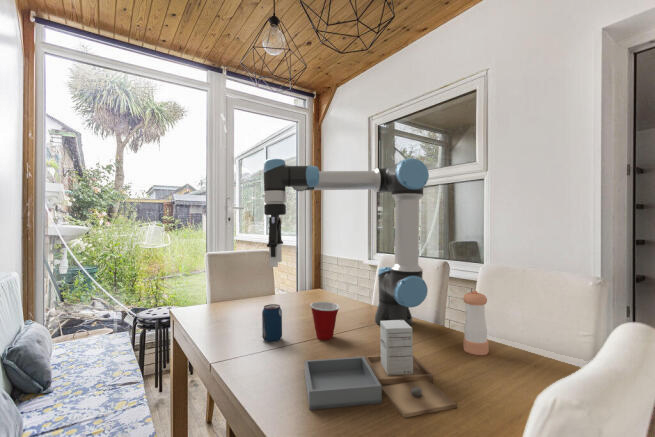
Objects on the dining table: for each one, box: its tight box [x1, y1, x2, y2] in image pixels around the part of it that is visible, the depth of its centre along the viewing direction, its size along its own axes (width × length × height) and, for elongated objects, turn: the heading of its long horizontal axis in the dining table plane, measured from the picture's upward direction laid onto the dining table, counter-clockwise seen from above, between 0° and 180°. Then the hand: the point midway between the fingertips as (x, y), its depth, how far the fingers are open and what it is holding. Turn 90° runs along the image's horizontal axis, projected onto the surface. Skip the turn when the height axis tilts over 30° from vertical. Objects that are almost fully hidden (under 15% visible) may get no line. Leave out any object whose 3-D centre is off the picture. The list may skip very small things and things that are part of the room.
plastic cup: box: [310, 301, 341, 341], centre depth 118 cm, size 11×11×12 cm
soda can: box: [261, 303, 283, 344], centre depth 117 cm, size 7×7×12 cm
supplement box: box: [379, 320, 414, 375], centre depth 91 cm, size 7×7×13 cm
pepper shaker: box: [462, 289, 490, 356], centre depth 105 cm, size 7×7×19 cm
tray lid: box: [382, 380, 458, 419], centre depth 77 cm, size 13×12×2 cm
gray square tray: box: [304, 356, 383, 411], centre depth 82 cm, size 17×17×4 cm
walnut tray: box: [363, 354, 434, 386], centre depth 91 cm, size 15×15×2 cm
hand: (275, 264), depth 115 cm, fingers open, 13 cm apart
